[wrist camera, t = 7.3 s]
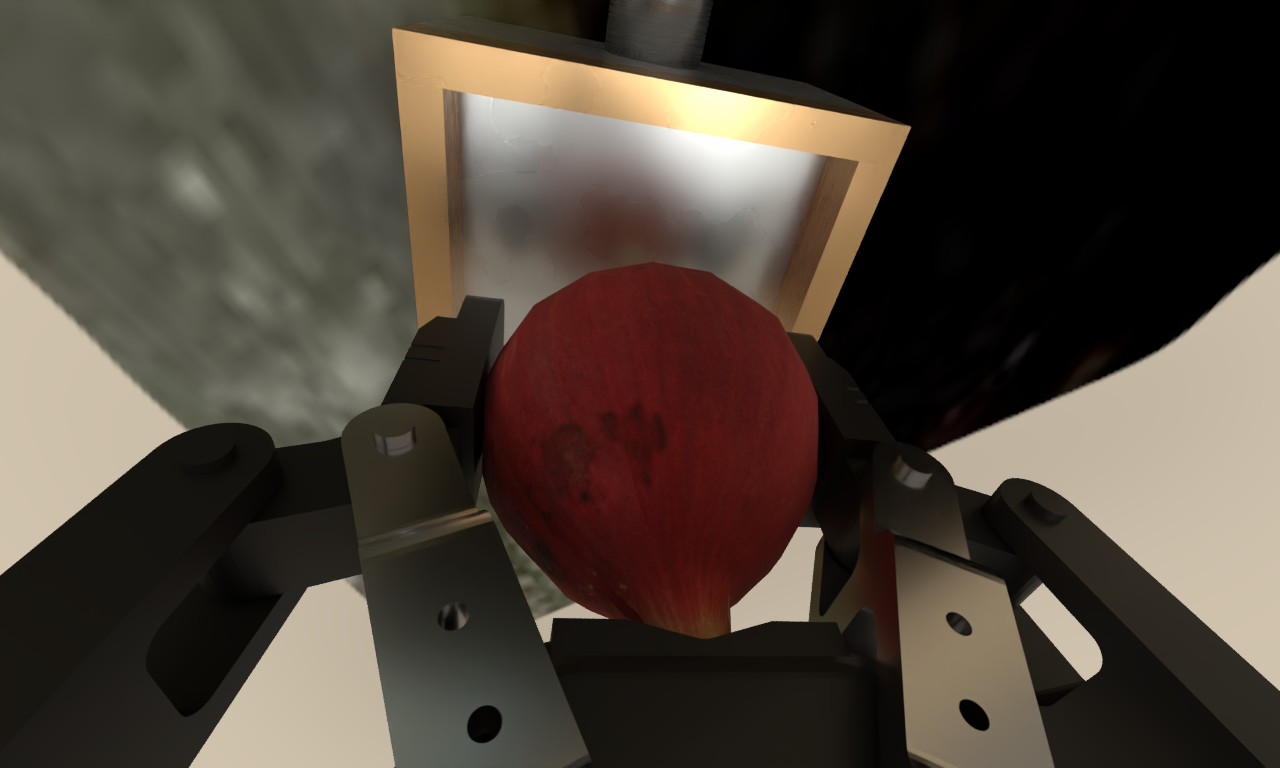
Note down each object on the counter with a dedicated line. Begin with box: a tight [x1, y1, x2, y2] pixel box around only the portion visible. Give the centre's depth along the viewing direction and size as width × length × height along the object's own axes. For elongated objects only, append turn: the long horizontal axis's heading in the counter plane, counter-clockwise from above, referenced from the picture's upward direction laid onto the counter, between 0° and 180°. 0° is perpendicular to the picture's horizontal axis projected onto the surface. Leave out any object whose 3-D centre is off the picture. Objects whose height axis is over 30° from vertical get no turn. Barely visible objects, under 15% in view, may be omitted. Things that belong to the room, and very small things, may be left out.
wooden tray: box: [392, 0, 911, 345], centre depth 14 cm, size 13×10×6 cm
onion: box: [482, 262, 818, 639], centre depth 9 cm, size 6×6×8 cm
